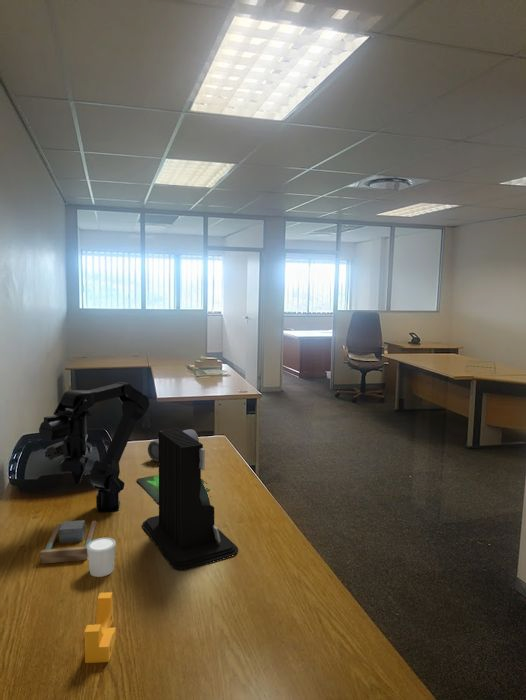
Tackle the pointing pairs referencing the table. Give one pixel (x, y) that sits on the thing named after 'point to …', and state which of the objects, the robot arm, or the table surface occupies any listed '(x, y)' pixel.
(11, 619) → the table surface
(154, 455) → the bluetooth speaker
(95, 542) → the white cylinder
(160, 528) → the award
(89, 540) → the brown u-shaped frame
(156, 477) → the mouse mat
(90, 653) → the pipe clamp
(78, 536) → the block
